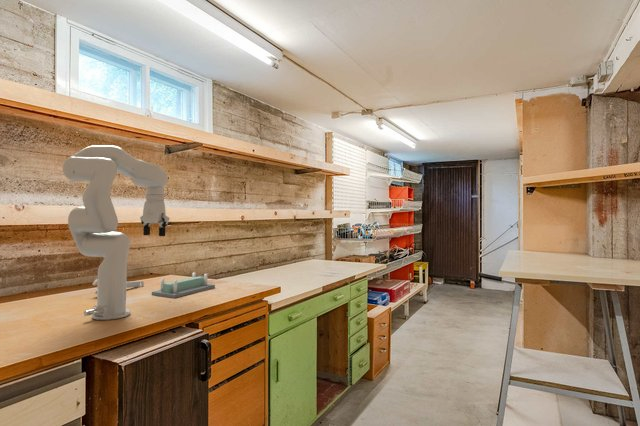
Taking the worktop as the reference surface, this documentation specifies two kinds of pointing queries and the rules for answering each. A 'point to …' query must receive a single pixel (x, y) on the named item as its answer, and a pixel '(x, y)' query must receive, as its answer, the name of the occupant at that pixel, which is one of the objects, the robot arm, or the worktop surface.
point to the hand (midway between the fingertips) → (154, 235)
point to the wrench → (128, 284)
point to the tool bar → (184, 284)
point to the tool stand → (186, 291)
